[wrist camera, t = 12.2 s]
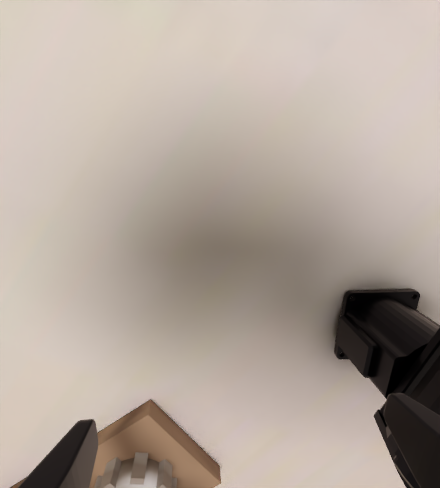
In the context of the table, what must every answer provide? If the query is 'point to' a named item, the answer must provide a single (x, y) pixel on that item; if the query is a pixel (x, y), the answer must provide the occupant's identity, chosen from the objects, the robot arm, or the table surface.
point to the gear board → (150, 454)
